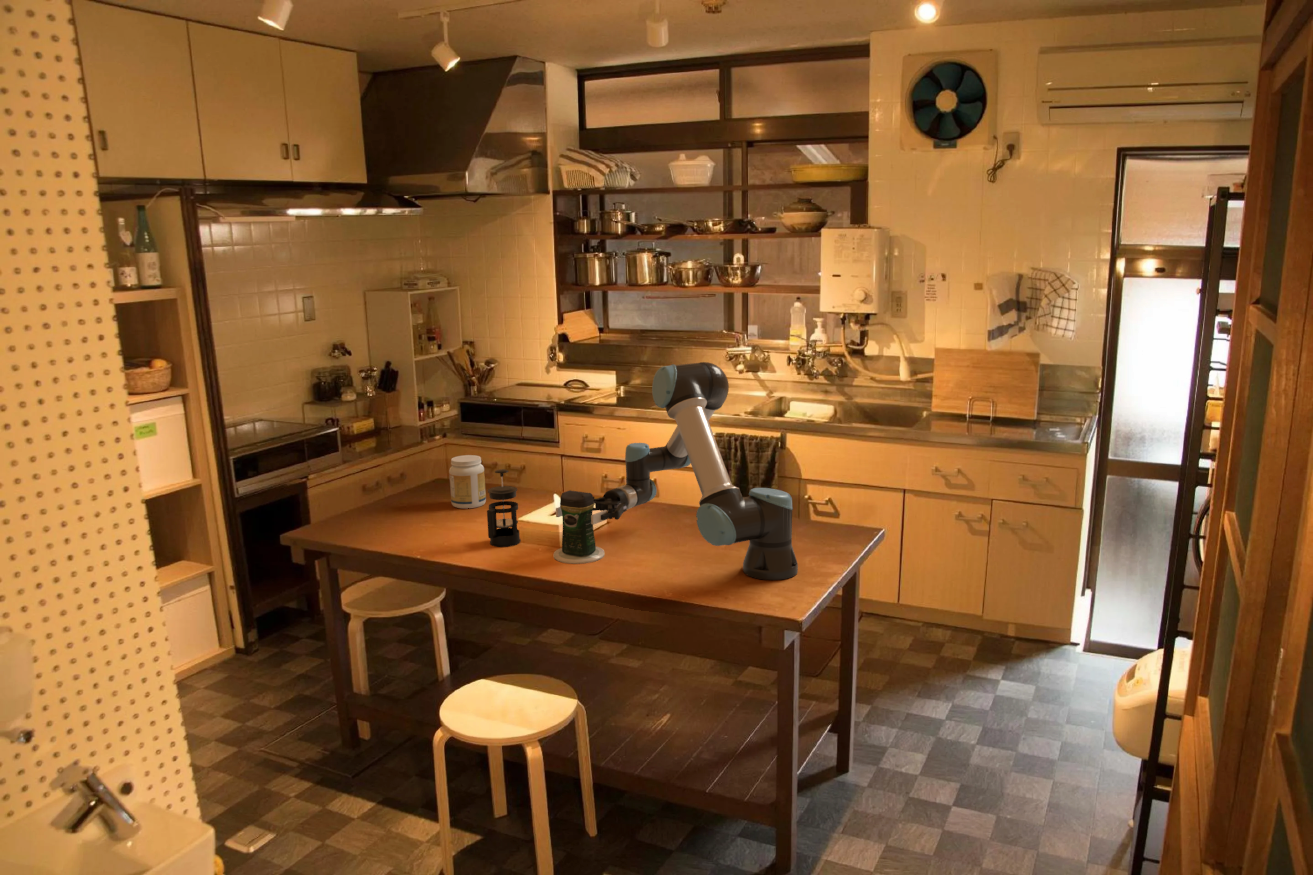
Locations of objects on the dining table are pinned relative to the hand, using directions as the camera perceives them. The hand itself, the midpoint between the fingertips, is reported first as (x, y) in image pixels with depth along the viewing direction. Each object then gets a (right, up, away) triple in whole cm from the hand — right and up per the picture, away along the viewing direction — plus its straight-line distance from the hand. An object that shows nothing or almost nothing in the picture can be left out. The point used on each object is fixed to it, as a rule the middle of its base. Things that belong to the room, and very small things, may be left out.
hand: (574, 516), depth 277 cm
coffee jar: (+1, -11, +4) cm, 12 cm away
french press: (-23, -10, +17) cm, 30 cm away
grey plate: (+1, -12, +4) cm, 12 cm away
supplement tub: (-42, -1, +60) cm, 74 cm away
